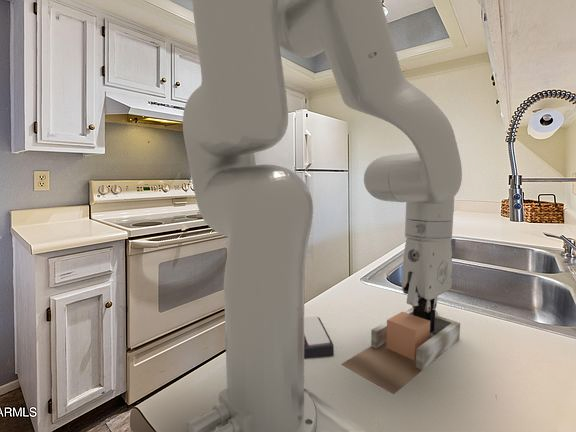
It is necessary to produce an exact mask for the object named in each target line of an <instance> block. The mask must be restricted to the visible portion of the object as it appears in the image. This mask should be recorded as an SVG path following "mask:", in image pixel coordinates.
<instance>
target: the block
mask: <svg viewBox="0 0 576 432" xmlns="http://www.w3.org/2000/svg"><path fill="white" fill-rule="evenodd" d="M386 322H387V340H386V348H388V349H390V350H392V351H394V352H397V353H399V354H401V355H403V356H406V357H408V358H410V359H412V360H416V352H417V348H418V347H419V346H421V345H422V344H423V343H425V342H426V341H428V340H429V339H430V338H431V336H430V335H431V333H430V321H429V320H426V319H423V318H420V317H417V316H414V315H411V314H408V313H405V311H401V312H399V313H397V314H395V315H394V316H391V317H389V318H388V319H386Z"/></svg>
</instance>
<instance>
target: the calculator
mask: <svg viewBox="0 0 576 432" xmlns="http://www.w3.org/2000/svg"><path fill="white" fill-rule="evenodd" d="M334 352H335V351H334V343H333V341H332V339H331V337H330V335H329V334H328V331H327V330H326V327H325V326H324V323H323V322H322V320H321V318H320V317H319V316H308V317H304V359H311V358H312V359H313V358H326V357H327V358H328V357H334V355H335V353H334Z"/></svg>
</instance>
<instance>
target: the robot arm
mask: <svg viewBox="0 0 576 432" xmlns="http://www.w3.org/2000/svg"><path fill="white" fill-rule="evenodd" d="M191 1H192V12H193V20H194V27H195V28H194V29H195V35H196V43H197V50H198V58H199V65H200V66H199V67H200V74H201V84H200V85H199V86H198V87H197V88H196V89H195V90H194V91H193V92H192V93H191V94H190V96H189V98H188V99H187V102H186V104H185V106H184V109H183V113H182V114H183V115H182V116H183V117H182V132H183V139H184V145H185V151H186V156H187V160H188V165H189V171H190V175H191V180H192V185H193V186H192V187H193V190H194V191H193V192H194V195H195V200H196V204H197V207H198V210H199V213H200V215H201V217H202V219H203V221H204V223H205V224H206V225H207V226H208V227H209V228H210V229H212V230H213V231H215V232H216V233H218V234H220V235H222V236H225V237H227V238H229V243H228V252H227V256H226V261H225V266H224V275H223V276H224V277H223V303H224V304H223V305H224V329H225V330H224V332H225V361H226V362H225V365H226V388H225V389H223V390H222V391H219V392H218V401H219V402H218V403H216V404H214V405H213V406H212V410H211V411H208V412H207V413H205V414H204V413H203V414H201V415H199V416H197V417H196V418H193V419H191V420H189V421H188V422H187V431H188V432H316V428H317V424H318V423H317V421H318V418H317V417H318V413H317V408H316V404H315V402H314V401H313V399H312V397H311V396H310V395H309V393H307V392H306V391H305V358H304V318H305V276H306V275H305V274H306V273H305V271H306V258H307V251H308V244H309V239H310V234H311V229H312V225H313V218H314V204H313V198H312V195H311V192H310V189H309V188H308V186H307V184H306V183H305V181H304V180H303V179H302V178H301V177H300V176H299V174H297V173H296V172H294V171H292V170H291V169H288V168H287V167H283V166H280V165H275V164H256V158H255V157H256V156H255V153H260V152H263V151H266V150H269V149H271V148H273V147H274V146H276V145H277V144H279V142H280V141H281V140H282V139H283V137H284V136H285V135H286V133H287V129H288V126H289V106H288V100H287V91H286V83H285V75H284V69H283V68H284V67H283V61H282V54H281V53H282V52H281V49H282V50H284V51H287V52H288V53H289V54H292V55H295V56H296V57H299V58H304V59H305V58H313V57H316V56H318V55H319V54H321V53H323V52H324V53H325V56H326V59H327V61H328V64H329V66H330V69H331V72H332V75H333V76H334V80H335V82H336V85H337V88H338V90H339V93H340V96H341V99H342V102H343V103H344V105H345V106H346V107H348V108H349V109H352V110H354V111H358V112H360V113H363V114H365V115H369V116H372V117H374V118H378V119H380V120H383V121H385V122H388V124H391V125H393V126H394V127H396V128H397V129H398V130H400V131H401V133H403V134H405V136H406V137H407V138H408V139H409V140H410V141H411V143H412V145H413V146H414V149H415V151H416V152H408V153H401V154H389V155H384V156H380V157H378V158H375V159H374V160H372V161H371V162H370V163H369V164H368V165H367V167H366V168H365V171H364V174H363V184H364V187H365V189H366V191H367V192H368V193H369V194H370V195H371V196H372V197H373V198H375V199H377V200H379V201H384V202H391V203H393V202H394V203H395V202H396V203H405V220H404V221H405V222H404V224H405V225H404V227H405V228H404V237H405V238H406V239H405V245H404V252H403V260H402V269H401V289H402V290H401V291H402V293H403V294H404V295H407V297H406V304H407V305H410V306H412V307H411V308H414V309H413V315H414V316H417V317H420V318H423V319H426V320H429V321H430V334H431V333H433V331H434V325H435V310H433V309H436V310H437V305H438V297H439V296H441V295H442V294H444V293H447V292H448V291H449V290H450V289H451V288H452V285H453V251H452V250H453V248H452V240H453V229H454V228H453V227H454V225H453V223H454V211H455V210H454V209H455V197H456V195H457V194H458V193H459V191H460V189H461V185H462V181H463V170H462V161H461V155H460V152H459V148H458V143H457V139H456V136H455V132H454V129H453V126H452V124H451V122H450V120H449V119H448V117H447V115H446V114H445V113H444V112H443V111H442V110H441V108H440V107H439V106H438V105H437V103H435V102H434V100H432V99H431V97H429V96H428V95H427V94H426V93H424V92H423V91H422V90H421V89H420V88H418V87H416V86H415V85H413V84H412V83H411V82H409V81H408V80H407V78H406V77H405V76H404V74H403V72H402V69H401V66H400V61H399V57H398V54H397V51H396V48H395V45H394V41H393V37H392V33H391V31H390V27H389V23H388V19H387V17H386V13H385V10H384V6H383V3H382V0H191ZM213 429H214V430H213ZM212 430H213V431H212Z"/></svg>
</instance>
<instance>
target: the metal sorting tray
mask: <svg viewBox="0 0 576 432" xmlns="http://www.w3.org/2000/svg"><path fill="white" fill-rule="evenodd" d="M413 309H414V308H413V307H411V308H408V309H407V310H405V311H404V312H405V313H408V314H411V315H413ZM370 330H371V333H370V334H371V337H370V346H369V347H367V348H366V349H364V350H363V351H361V352H359V353H358V354H356V355H354V356H352V357H351V358H349V359H347V360H346V361H344V362H342V363H341V364H340V365H342V366H343V367H344V368H347V369H348V370H350V371H352V372H354V373H355V374H357V375H359V376H361V377H362V378H364V379H366V380H368V381H369V382H371V383H373V384H375V385H376V386H378V387H381V388H382V389H384V390H385V391H388V392H390V393H391V394H392V395H394V394H396V393H398V391H399V390H400V389H402V388H403V387H404V386H405V385H406V384H407V383H409V382H410V381H412V379H414V378H415V377H416V376H417V375H419V374H420V373H421V372H422V371H424V369H425V368H427V367H429V365H430V364H431V363H432V362H434V361H435V360H436V359H438V358H439V357H440V356H441V355H442V354H444V352H446V351H447V350H448V349H449V348H450V347H452V346H453V345H454V344H455V343H457V342H458V341H459V340H460V336H461V335H460V334H461V333H460V332H461V323H460V322H458V321H455V320H453V319H449V318H447V317H442V316H440V315H438V314H437V315H435V325H434V331H433V332H432V333H434V334H435V335H433V336H432V337H430V339H429V340H428V341H426V342H425V343H423V344H422V345H421V346H419V347H418V348H417V352H416V360H412V359H410V358H408V357H406V356H403V355H401V354H399V353H397V352H394V351H392V350H390V349H388V348H386V340H387V321H384V322H383V323H381V324H379V325H377V326H376V327H373V328H372V329H370Z"/></svg>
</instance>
